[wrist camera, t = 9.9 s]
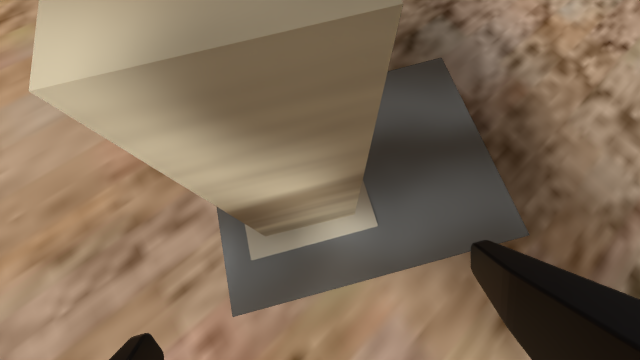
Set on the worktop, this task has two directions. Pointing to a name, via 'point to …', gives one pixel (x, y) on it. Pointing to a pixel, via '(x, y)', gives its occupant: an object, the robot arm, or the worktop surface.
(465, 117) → the slate plinth
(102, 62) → the birch pillar
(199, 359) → the worktop surface
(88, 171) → the worktop surface
